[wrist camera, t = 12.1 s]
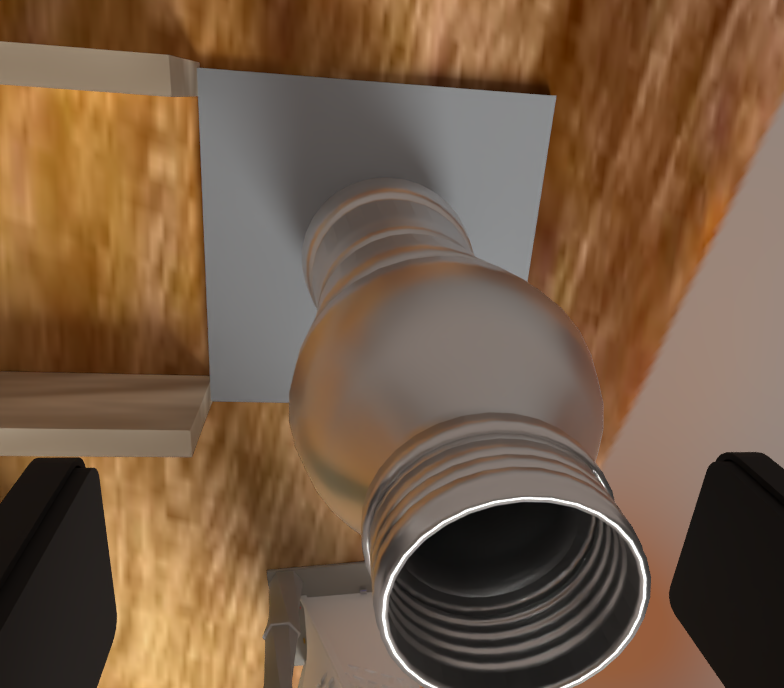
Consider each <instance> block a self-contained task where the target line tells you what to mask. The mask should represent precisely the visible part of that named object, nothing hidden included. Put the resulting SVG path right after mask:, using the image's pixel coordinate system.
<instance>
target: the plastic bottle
mask: <svg viewBox="0 0 784 688" xmlns="http://www.w3.org/2000/svg"><path fill="white" fill-rule="evenodd" d="M302 269H303V274H304V279H305V283H306V286H307V288H308V291H309V293H310V296H311V298H312V300H313V303H314V305H315V307H316V308H317V314H316V317H315V319H314V322H313V324H312V325H311V327H310V329H309V331H308V334H307V336H306V338H305V340H304V342H303V344H302V346H301V348H300V351H299V355H298V359H297V363H296V366H295V371H294V375H293V379H292V383H291V387H290V391H289V423H290V427H291V432H292V436H293V441H294V445H295V448H296V450H297V452H298V455H299V457H300V459H301V461H302V463H303V465H304V467H305V469H306V471H307V473H308V475H309V477H310V479H311V481H312V483H313V485H314V487H315V489H316V491H317V493H318V494H319V495H320V496H321V498H322V499H323V500H324V502H325V503H326V504H327V505H328V507H329V508H330V509H331V511H332V512H333V513H334V514H335V515H337V516H338V517H339V518H340V519H341V520H342V521H344V522H345V523H346V524H347V525H348V526H349V527H351V528H352V529H353V530H355V531H356V532H358V533H359V534H361V538H362V549H363V554H364V559H365V565H366V568H367V570H368V572H369V574H370V576H371V581H372V595H373V607H374V613H375V618H376V623H377V627H378V629H379V631H380V636H381V639H382V641H383V643H384V645H385V648H386V650H387V652H388V654H389V656H390V657H391V658H392V660H393V661H394V662H395V663H396V664H397V666H398V667H399V668H400V669H401V670H402V672H403V673H405V674H406V675H407V676H409V677H410V678H411V679H412V680H414V681H415V682H416V683H418V684H419V685H420V686H422V687H425V688H572V687H574V686H576V685H578V684H581V683H582V682H584V681H586V680H587V679H588V678H590V677H592V676H593V675H595V674H597V673H598V672H600V671H601V670H603V669H604V668H605V667H606V666H607V665H608V664H610V663H611V662H612V661H613V660H614V659H615V658H616V657H617V656H619V655H620V654H621V652H622V651H623V650H624V649H625V647H626V646H627V645H628V644H629V642H630V641H631V640H632V639H633V638H634V636H635V634H636V632H637V630H638V629H639V627H640V625H641V622H642V621H643V619H644V617H645V613H646V610H647V607H648V603H649V599H650V586H651V576H650V571H649V566H648V562H647V557H646V555H645V554H644V552H643V549H642V545H641V543H640V541H639V539H638V537H637V535H636V533H635V531H634V529H633V527H632V526H631V524H630V523H629V522H628V520H627V519H626V518H625V516H624V515H623V513H622V512H621V510H620V509H619V507H618V506H617V505H616V503H615V501H614V497H613V493H612V490H611V488H610V486H609V484H608V482H607V480H606V478H605V476H604V474H603V472H602V471H601V470H600V468H599V467H598V465H597V464H596V463H595V460H596V457H597V454H598V450H599V446H600V441H601V437H602V432H603V400H602V396H601V391H600V387H599V383H598V378H597V375H596V371H595V367H594V364H593V360H592V357H591V354H590V352H589V350H588V348H587V346H586V344H585V342H584V339H583V337H582V335H581V333H580V331H579V330H578V328H577V327H576V326H575V325H574V323H573V322H572V321H571V320H570V318H569V317H568V316H567V314H566V313H565V312H564V311H563V309H562V308H561V307H559V306H558V305H557V304H556V303H555V302H553V301H552V300H551V299H550V298H548V297H547V296H546V295H545V294H543V293H542V292H541V291H540V290H539V289H537V288H535V287H534V286H532V285H531V284H529V283H528V282H526V281H525V280H524V279H522V278H520V277H518V276H516V275H514V274H512V273H510V272H508V271H506V270H504V269H502V268H500V267H499V266H495V265H493V264H491V263H488V262H486V261H484V260H482V259H479V258H477V257H475V256H474V253H473V249H472V246H471V242H470V239H469V237H468V234H467V232H466V229H465V228H464V226H463V224H462V222H461V220H460V218H459V216H458V215H457V214H456V212H455V211H454V210H453V209H452V208H451V206H450V205H449V204H448V203H447V202H446V201H445V200H444V199H442V198H441V197H440V196H439V195H437V194H436V193H435V192H433V191H431V190H430V189H428V188H426V187H424V186H422V185H420V184H418V183H414V182H411V181H408V180H404V179H398V178H387V177H383V178H374V179H366V180H363V181H360V182H357V183H354V184H351V185H349V186H347V187H345V188H344V189H342V190H340V191H338V192H336V193H335V194H334V195H333V196H332V197H330V198H329V199H328V200H327V201H326V202H325V203H324V204H323V205H322V206H321V207H320V209H319V210H318V211H317V213H316V214H315V215H314V217H313V218H312V220H311V222H310V225H309V227H308V229H307V231H306V234H305V238H304V242H303V247H302Z"/></svg>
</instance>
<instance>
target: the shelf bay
mask: <svg viewBox="0 0 784 688" xmlns="http://www.w3.org/2000/svg"><path fill="white" fill-rule="evenodd" d="M197 68H200V62H196V61H192V60H187V59H183V58H179V57H175V56H171V55H164V54H151V53H139V52H127V51H114V50H102V49H90V48H77V47H65V46H52V45H40V44H28V43H15V42H3V41H0V84H3V85H17V86H30V87H44V88H58V89H71V90H85V91H99V92H112V93H126V94H140V95H153V96H167V97H188V96H198V82H197ZM211 404H212V401H211V391H210V376H190V375H145V374H100V373H55V372H10V371H0V456H90V457H192V455H193V453H194V450H195V447H196V445H197V442H198V439H199V437H200V434H201V431H202V428H203V426H204V423H205V420H206V418H207V415H208V412H209V410H210V407H211Z"/></svg>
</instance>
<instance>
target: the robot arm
mask: <svg viewBox="0 0 784 688" xmlns="http://www.w3.org/2000/svg"><path fill="white" fill-rule="evenodd" d="M669 599H670V604H671V607H672V609H673V612H674V614H675V615H676V617H677V618H678V620H679V621H680V622H681V624H682V625H683V627H684V628H685V630H686V631H687V633H688V634H689V635H690V637H691V638H692V640H693V641H694V643H695V644H696V646H697V647H698V648H699V650H700V651H701V653H702V654H703V656H704V657H705V659H706V660H707V661H708V663H709V664H710V666H711V667H712V669H713V670H714V671H715V673H716V675H717V676H718V677H719V679H720V680H721V682H722V683H723V684H724V686H725V688H784V469H783V468H782V467H781V466H779V465H778V464H777V463H776V462H774V461H773V460H772V459H771V458H769V457H768V456H766V455H765V454H763V453H758V452H726V453H724V454H721V455H720V456H719V457H718V458H717V460H716V462H713V463H712V464H710V466H709V467H708V469H707V472H706V475H705V478H704V481H703V485H702V488H701V491H700V494H699V497H698V500H697V503H696V507H695V510H694V513H693V516H692V519H691V522H690V526H689V529H688V532H687V535H686V539H685V542H684V545H683V548H682V551H681V555H680V557H679V561H678V564H677V567H676V570H675V573H674V577H673V580H672V583H671V586H670V591H669ZM116 623H117V612H116V603H115V596H114V588H113V580H112V572H111V565H110V557H109V549H108V541H107V534H106V526H105V518H104V510H103V503H102V495H101V487H100V479H99V474H98V471H97V469H95V468H86V467H85V464H84V462H83V460H82V459H81V458H36V459H34V460H33V461H32V462H31V463H30V464H29V465H28V467H27V468H26V469H25V471H24V472H23V473H22V475H21V476H20V478H19V479H18V480H17V482H16V483H15V484H14V486H13V487H12V489H11V490H10V491H9V493H8V494H7V495H6V497H5V498H4V499H3V501H2V502H1V504H0V688H97V686H98V683H99V680H100V677H101V674H102V671H103V669H104V666H105V663H106V660H107V657H108V654H109V651H110V648H111V646H112V643H113V639H114V636H115V631H116Z"/></svg>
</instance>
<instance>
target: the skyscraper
mask: <svg viewBox="0 0 784 688" xmlns="http://www.w3.org/2000/svg"><path fill="white" fill-rule="evenodd" d="M267 578H268V586H269V605H270V609H269V618H268V623H267V626H266V629H265V632H264V635H263V637H262V638H263V639H264V640H265V673H264V688H292V676H293V668H294V666H299V665H304V666H303V669H302V673H301V677H300V681H299V685H298V688H420V687H419V684H418V683H416V682H415V681H414V680H412V679H411V678H410V677H409V676H407V675H406V674H405V673H403V672H402V670H401V669H400V668H399V667H398V666H397V664H396V663H395V662H394V661H393V660H392V658H391V657H390V656H389V654H388V652H387V650H386V648H385V645H384V643H383V641H382V639H381V636H380V631H379V629H378V627H377V623H376V618H375V613H374V607H373V595H372V581H371V576H370V574H369V572H368V570H367V568H366V565H365V561H362V562H351V563H340V564H328V565H317V566H305V567H294V568H282V569H271V570H267Z"/></svg>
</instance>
